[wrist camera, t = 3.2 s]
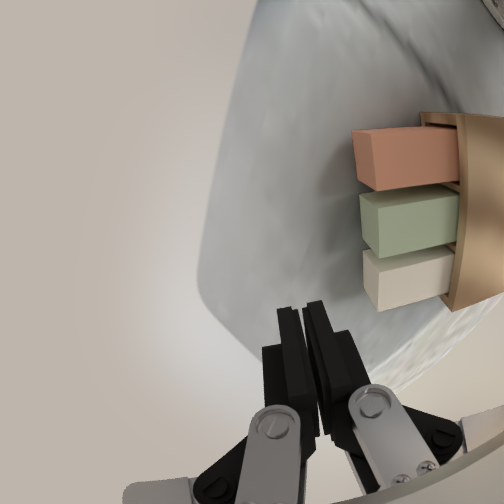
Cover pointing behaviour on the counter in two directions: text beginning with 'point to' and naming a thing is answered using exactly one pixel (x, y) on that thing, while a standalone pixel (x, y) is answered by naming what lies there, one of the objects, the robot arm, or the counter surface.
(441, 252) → the plunger ivory
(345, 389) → the robot arm
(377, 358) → the counter surface
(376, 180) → the plunger terracotta
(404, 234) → the plunger sage
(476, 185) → the housing
